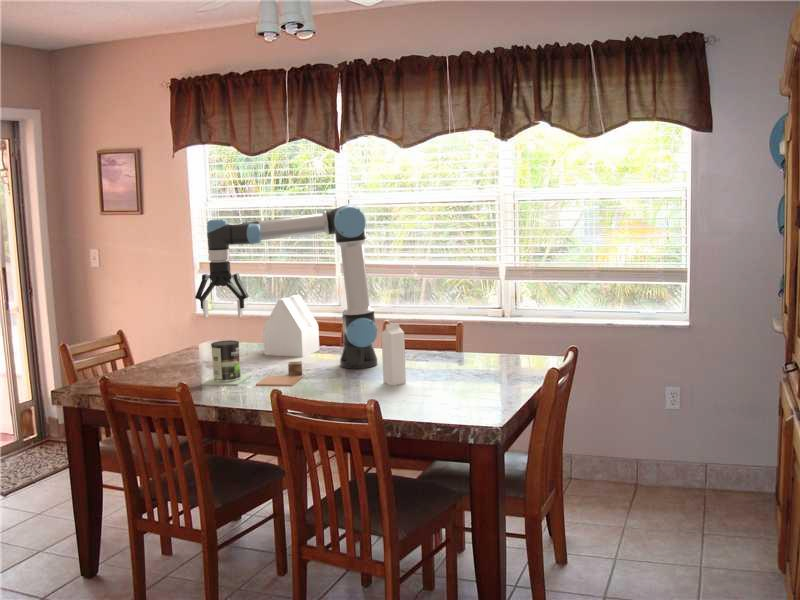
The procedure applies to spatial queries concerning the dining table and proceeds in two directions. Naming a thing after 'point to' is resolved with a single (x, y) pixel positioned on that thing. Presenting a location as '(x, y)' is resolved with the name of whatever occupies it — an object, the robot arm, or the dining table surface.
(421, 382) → the dining table surface
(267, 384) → the pad terracotta
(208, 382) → the pad green
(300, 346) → the white house block
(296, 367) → the walnut block
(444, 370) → the dining table surface
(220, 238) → the robot arm
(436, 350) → the dining table surface
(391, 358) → the milk
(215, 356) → the coffee can
